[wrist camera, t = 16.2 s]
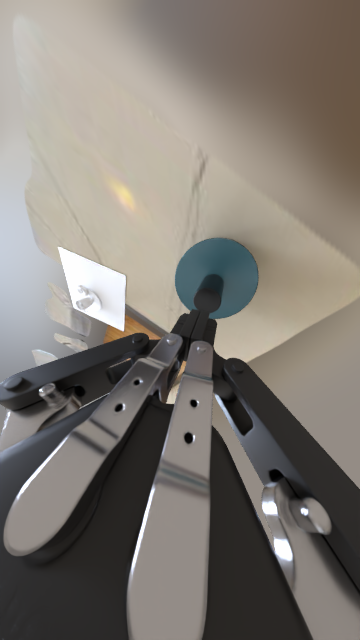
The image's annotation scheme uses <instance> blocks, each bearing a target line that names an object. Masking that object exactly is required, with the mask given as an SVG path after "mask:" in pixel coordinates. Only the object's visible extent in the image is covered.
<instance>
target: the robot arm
mask: <svg viewBox="0 0 360 640" xmlns="http://www.w3.org/2000/svg"><path fill="white" fill-rule="evenodd" d="M209 315H210V312H206V311H200V310H195V309H192V310H191V312H190V314H186V313H184V314H183V315H181V316H180V318H179V319H178V321H177V323H176V324H175V326H174V328H173V329H172V331H171V332H170V334H166V335H164V336H163V337H162V338H161V339H160V340H149V337H148V335H146V334H144V333H135V334H132V335H129V336H126V337H123V338H120V339H117V340H114V341H111V342H108V343H105V344H103V345H100V346H97V347H94V348H91V349H88V350H85V351H82V352H79V353H76V354H73V355H70V356H67V357H64V358H61V359H58V360H55V361H52V362H49V363H46V364H43V365H41V366H38V367H35V368H32V369H29V370H26V371H23V372H20V373H17V374H15V375H13V376H11V377H9V378H7V379H6V380H5V381H3V382H2V383H1V384H0V404H1V405H3V406H4V407H5V408H6V409H7V411H8V412H7V416H6V419H5V422H4V425H3V428H2V431H1V434H0V640H360V489H359V488H358V487H357V486H356V485H355V484H354V482H353V481H352V480H351V479H350V478H349V477H348V476H347V475H346V474H345V473H344V471H343V470H342V469H341V468H340V467H339V466H338V465H337V464H336V462H335V461H334V460H333V459H332V458H331V457H330V456H329V455H328V454H327V452H326V451H325V450H324V449H323V448H322V447H321V446H320V445H319V444H318V443H317V441H316V440H315V439H314V438H313V437H312V436H311V435H310V434H309V432H307V430H306V429H305V428H304V427H303V426H302V425H301V424H300V422H299V421H298V420H297V419H296V418H295V417H294V416H293V415H292V414H291V412H290V411H289V410H288V409H287V408H286V407H285V406H284V405H283V404H282V402H281V401H280V400H279V399H278V398H277V397H276V396H275V395H274V394H273V392H272V391H271V390H270V389H269V388H268V387H267V386H266V385H265V384H264V383H263V381H262V380H261V379H260V378H259V377H258V376H257V375H256V374H255V372H254V371H253V370H252V369H251V368H250V367H249V366H248V365H247V364H246V363H245V362H244V361H242V360H240V359H237V358H229V359H227V360H226V359H224V358H222V357H220V356H219V355H218V354H217V353H216V352H215V350H214V347H213V345H214V339H215V333H216V328H217V323H216V320H215V319H210V318H209ZM129 358H131V360H128V361H126V362H124V363H121V364H119V365H116V366H114V367H111V368H108V367H110V366H112V365H114V364H117V363H119V362H121V361H124V360H126V359H129ZM183 361H187V362H186V366H185V370H184V372H183V374H182V378H181V381H180V385H179V389H178V393H177V397H176V401H175V404H166V402H167V399H168V395H169V392H170V390H171V388H172V386H173V384H174V382H175V380H176V378H177V376H178V373H179V371H180V369H181V365H182V362H183ZM109 392H110V393H109ZM213 392H214V394H215V397H216V399H217V401H218V403H219V405H220V406H221V408H222V410H223V412H224V414H225V416H226V417H227V419H228V421H229V423H230V425H231V426H232V428H233V430H234V432H235V434H236V436H237V437H238V439H239V441H240V443H241V445H242V447H243V448H244V450H245V452H246V454H247V456H248V457H249V459H250V461H251V463H252V465H253V466H254V469H255V470H256V472H257V474H258V476H259V478H260V480H261V481H262V483H263V485H264V489H263V492H262V507H263V511H264V515H265V518H266V521H267V523H268V526H269V528H270V530H271V534H272V537H273V541H274V546H275V552H276V555H275V552H274V550H273V548H272V546H271V544H270V542H269V539H268V537H267V535H266V532H265V530H264V528H263V526H262V523H261V521H260V519H259V517H258V515H257V512H256V510H255V508H254V506H253V503H252V501H251V499H250V497H249V495H248V492H247V490H246V488H245V485H244V483H243V481H242V479H241V477H240V474H239V472H238V470H237V468H236V466H235V463H234V461H233V459H232V456H231V454H230V452H229V450H228V448H227V446H226V444H225V442H224V440H223V438H222V437H221V435H220V434H219V433H218V431H217V430H216V429H215V428H214V427H213V426H212V405H213ZM107 393H109V394H107ZM105 394H107V395H105ZM103 395H105V396H103ZM101 396H103V397H101ZM99 397H101V398H100V399H98V400H96V399H97V398H99ZM94 400H96V401H94ZM92 401H94V402H92ZM90 402H92V403H90ZM88 403H90V404H89V405H87V406H85V407H83V408H81V409H79V408H80V407H82V406H84V405H86V404H88Z"/></svg>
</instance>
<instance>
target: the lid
mask: <svg viewBox="0 0 360 640" xmlns="http://www.w3.org/2000/svg"><path fill="white" fill-rule="evenodd" d="M257 285H258V268H257V265H256V262H255V260H254V258H253V256H252V255H251V253H250V252H249V251H248V250H247V249H246V248H245V247H244V246H243V245H241V244H239V243H238V242H236V241H233V240H230V239H226V238H211V239H207V240H204V241H201V242H199V243H197V244H195V245H194V246H193V247H191V248H190V249H189V250H188V251H187V252H186V253H185V254H184V255H183V257H182V258H181V260H180V261H179V264H178V266H177V269H176V274H175V287H176V291H177V294H178V296H179V298H180V300H181V302H182V303H183V304H184V305H185V307H187V308H188V309H189V310H190V311H191V310H192V309H195V310H200V311H206V312H210V315H209V318H210V319H220V318H225V317H229V316H232V315H234V314H236V313H238V312H239V311H241V310H242V309H243V308H244V307H245V306H246V305H247V304H248V303H249V302H250V301H251V299H252V298H253V296H254V294H255V292H256V289H257Z"/></svg>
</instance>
